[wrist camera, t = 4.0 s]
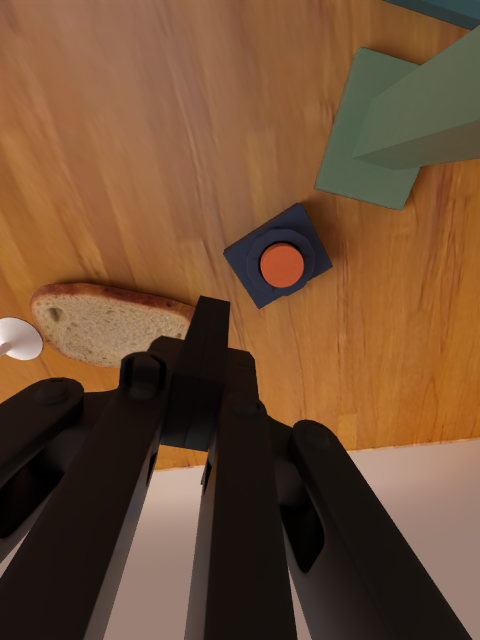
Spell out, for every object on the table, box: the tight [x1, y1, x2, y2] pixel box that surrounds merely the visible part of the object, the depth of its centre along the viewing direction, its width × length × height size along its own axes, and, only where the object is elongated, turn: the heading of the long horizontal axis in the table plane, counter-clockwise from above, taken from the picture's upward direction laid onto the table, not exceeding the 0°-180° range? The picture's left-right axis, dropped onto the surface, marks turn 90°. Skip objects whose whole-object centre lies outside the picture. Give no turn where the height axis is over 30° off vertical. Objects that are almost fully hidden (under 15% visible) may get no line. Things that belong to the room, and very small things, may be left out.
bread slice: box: [30, 283, 196, 368], centre depth 36 cm, size 18×18×4 cm
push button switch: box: [223, 203, 333, 309], centre depth 33 cm, size 10×8×4 cm
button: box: [260, 243, 304, 287], centre depth 30 cm, size 4×4×2 cm
